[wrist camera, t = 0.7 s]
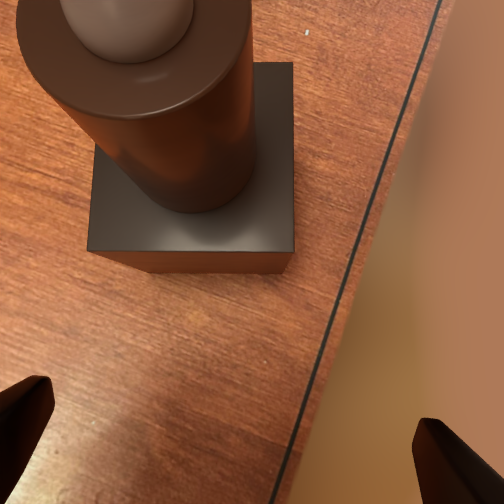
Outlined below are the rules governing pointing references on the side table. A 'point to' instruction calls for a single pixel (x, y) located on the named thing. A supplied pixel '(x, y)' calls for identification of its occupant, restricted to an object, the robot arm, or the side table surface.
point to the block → (213, 221)
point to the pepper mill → (153, 88)
